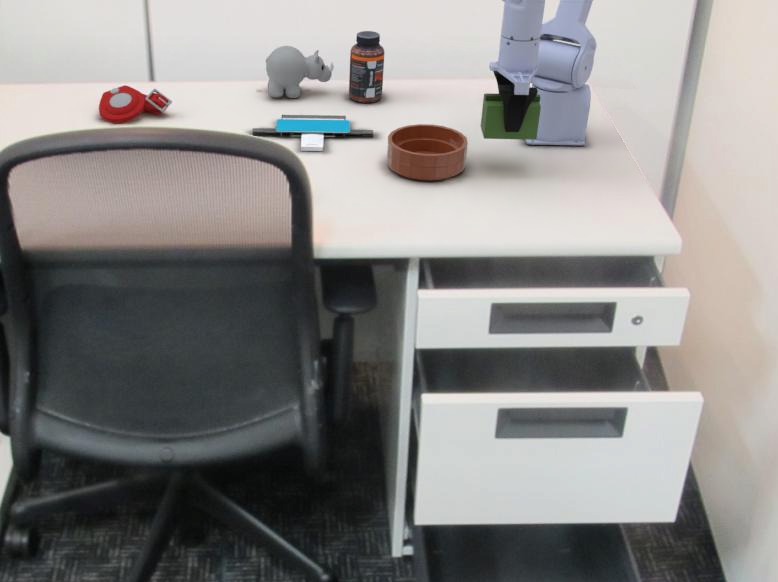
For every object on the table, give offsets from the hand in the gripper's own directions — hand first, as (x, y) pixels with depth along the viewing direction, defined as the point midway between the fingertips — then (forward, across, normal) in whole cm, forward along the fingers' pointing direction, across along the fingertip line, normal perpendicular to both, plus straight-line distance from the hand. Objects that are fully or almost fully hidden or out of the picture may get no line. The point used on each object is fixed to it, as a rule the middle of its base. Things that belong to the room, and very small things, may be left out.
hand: (509, 124), depth 171 cm
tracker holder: (+7, -19, -61) cm, 65 cm away
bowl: (+7, 0, -12) cm, 14 cm away
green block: (+1, 0, 0) cm, 1 cm away
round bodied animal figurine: (+7, -30, -33) cm, 45 cm away
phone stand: (+7, -11, -30) cm, 33 cm away
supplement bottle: (+7, -29, -21) cm, 37 cm away
